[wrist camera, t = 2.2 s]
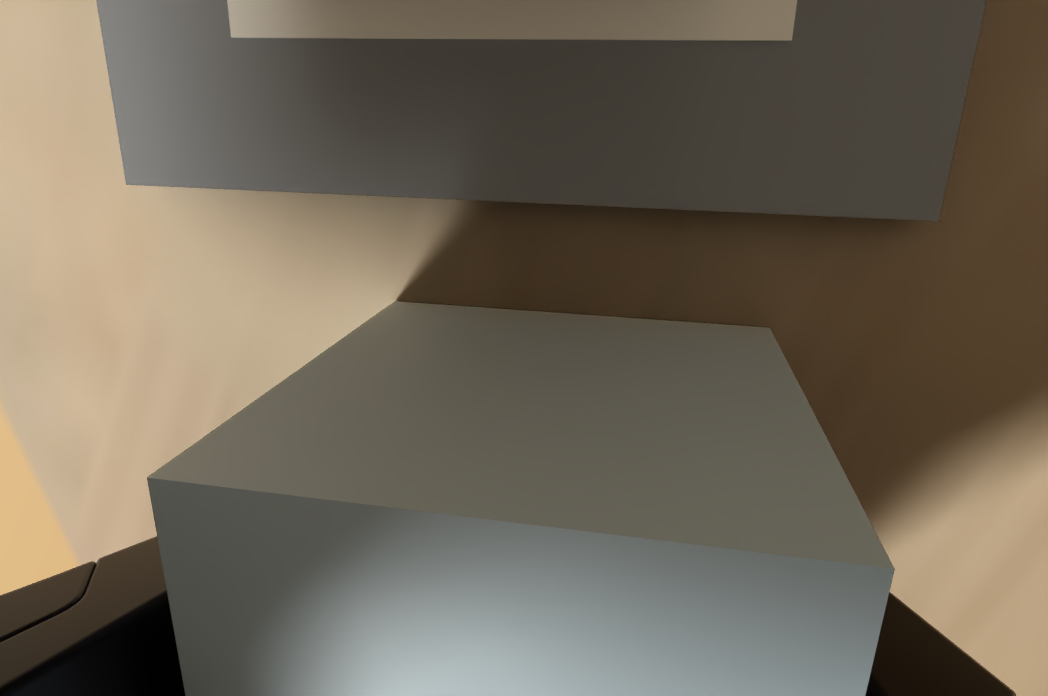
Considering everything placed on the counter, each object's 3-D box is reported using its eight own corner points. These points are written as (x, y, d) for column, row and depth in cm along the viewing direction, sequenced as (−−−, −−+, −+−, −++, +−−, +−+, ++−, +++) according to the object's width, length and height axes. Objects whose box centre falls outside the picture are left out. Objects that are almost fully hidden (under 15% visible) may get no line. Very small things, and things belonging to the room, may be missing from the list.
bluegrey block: (724, 645, 10) (777, 1075, 6) (406, 599, 11) (228, 942, 7) (769, 328, 9) (893, 568, 4) (395, 301, 10) (147, 476, 5)
